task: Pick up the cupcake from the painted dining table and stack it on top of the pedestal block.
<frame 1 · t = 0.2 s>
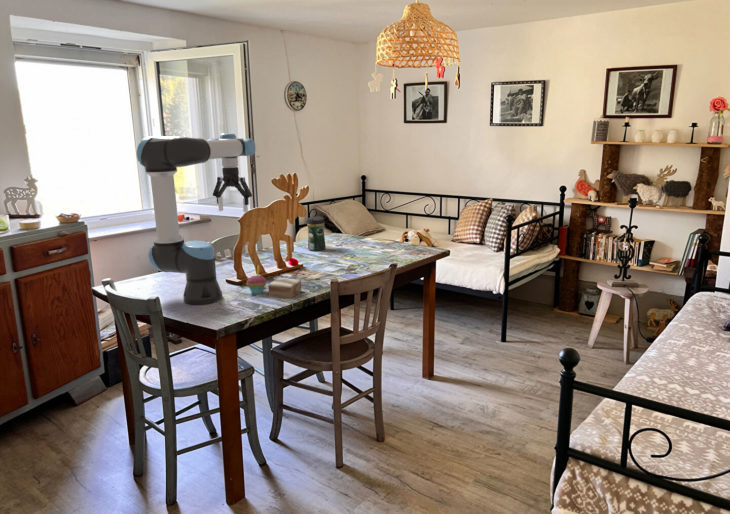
hand: (233, 211, 263), 28 cm above the table, fingers open, 13 cm apart
coffee jar: (316, 249, 305), on the table
pedestal: (285, 293, 228), on the table
cupcake: (257, 292, 229), on the table
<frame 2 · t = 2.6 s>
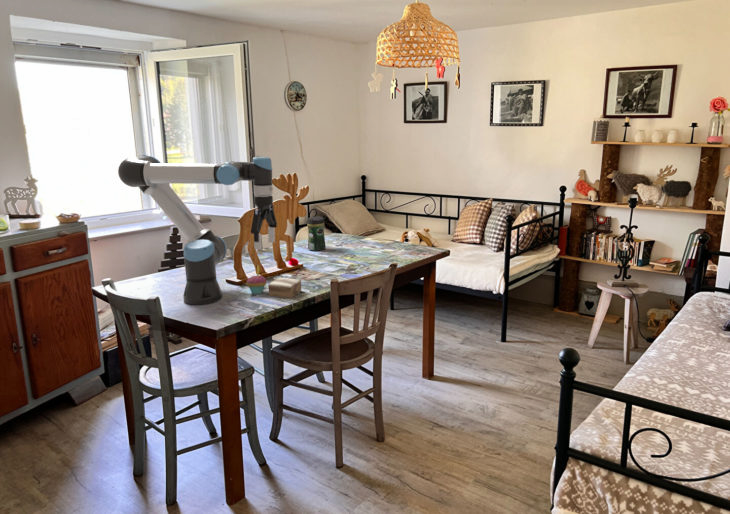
hand: (264, 245, 229), 19 cm above the table, fingers open, 13 cm apart
nothing on the table moved.
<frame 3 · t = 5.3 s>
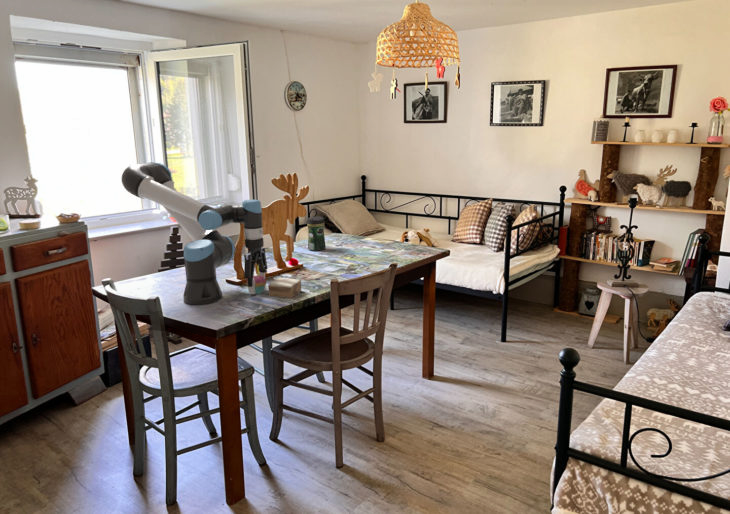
hand: (257, 290, 229), 1 cm above the table, fingers closed on cupcake, 8 cm apart
cupcake: (257, 292, 229), on the table, touching gripper
everything else where it was.
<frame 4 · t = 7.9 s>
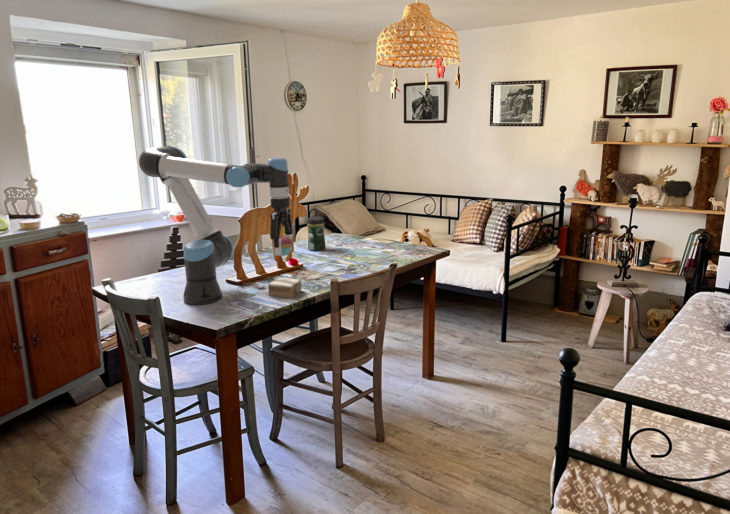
hand: (283, 252, 223), 18 cm above the table, fingers closed on cupcake, 8 cm apart
cupcake: (283, 254, 223), point 17 cm above the table, touching gripper
everything else where it was.
when the fingers open (7 cm above the table, at t = 10.6 s): cupcake drops 1 cm, resting on pedestal.
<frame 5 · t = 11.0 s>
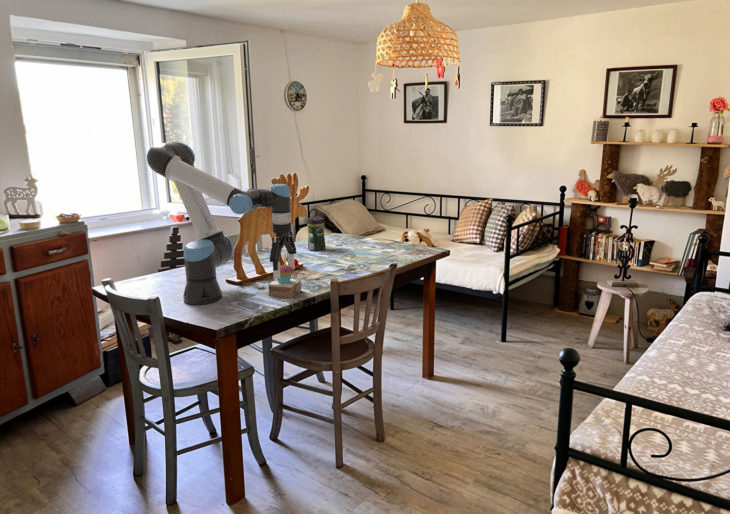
hand: (284, 273, 225), 9 cm above the table, fingers open, 13 cm apart
cupcake: (284, 282, 226), point 5 cm above the table, touching pedestal
everything else where it was.
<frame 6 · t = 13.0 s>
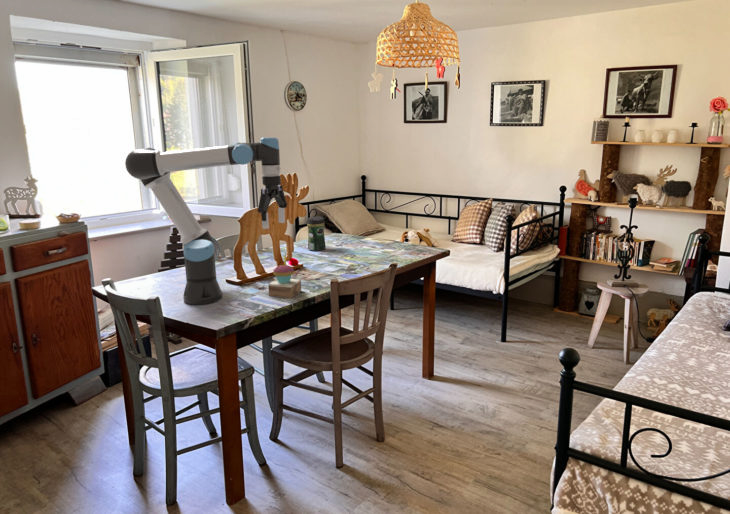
hand: (274, 225, 232), 27 cm above the table, fingers open, 13 cm apart
nothing on the table moved.
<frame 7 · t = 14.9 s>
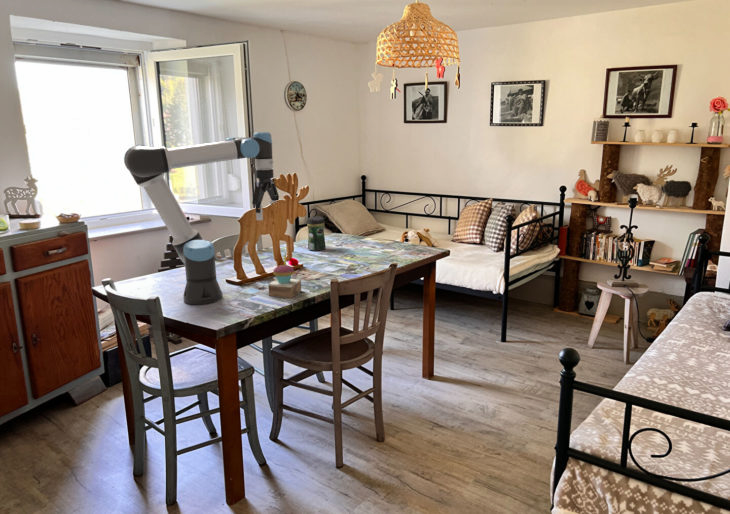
hand: (267, 217, 240), 29 cm above the table, fingers open, 13 cm apart
nothing on the table moved.
at the end: cupcake inside the target area on the pedestal (0.4 cm from its centre), point 4.8 cm above the pedestal's base; cupcake tilted 0°; the gripper is holding nothing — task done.
